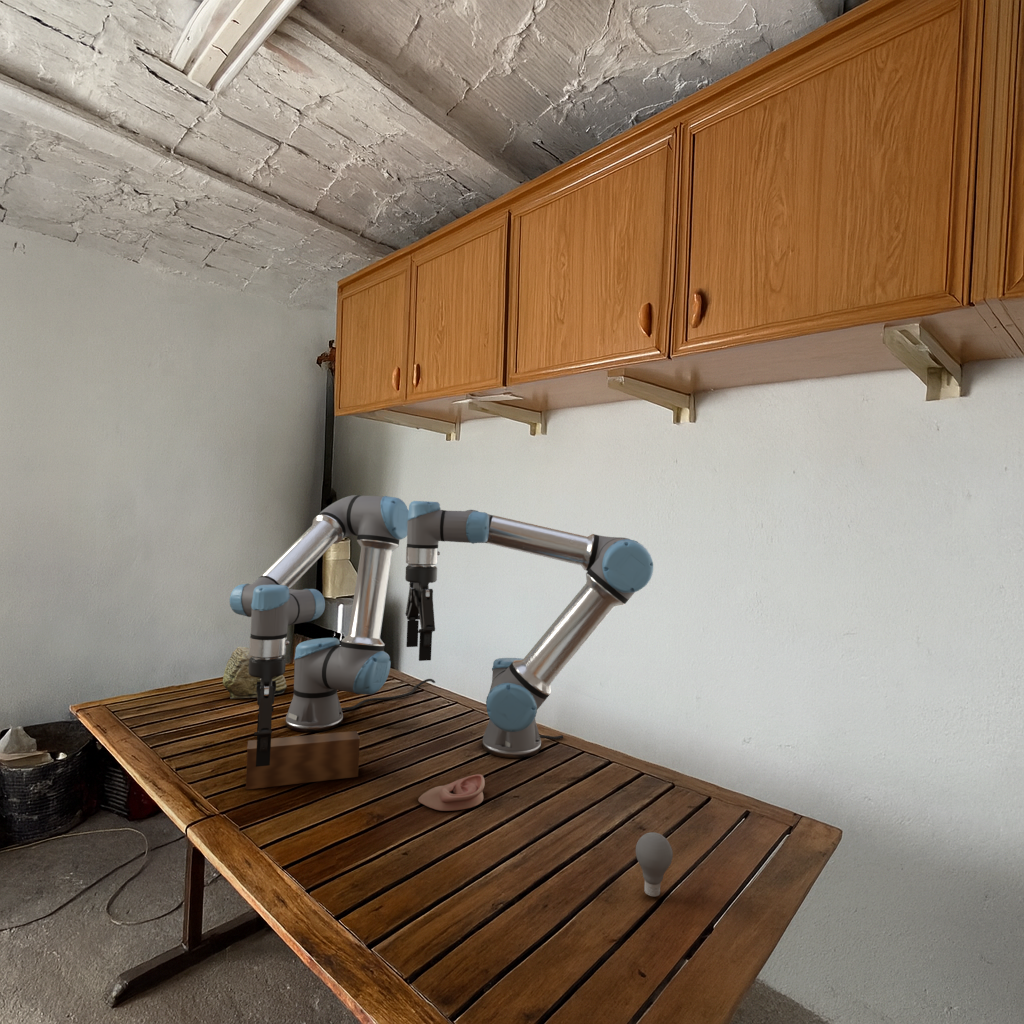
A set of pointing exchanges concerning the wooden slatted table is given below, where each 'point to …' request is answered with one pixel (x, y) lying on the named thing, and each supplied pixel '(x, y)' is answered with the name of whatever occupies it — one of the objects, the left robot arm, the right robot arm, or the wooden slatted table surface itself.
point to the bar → (305, 760)
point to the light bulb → (653, 860)
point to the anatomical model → (455, 794)
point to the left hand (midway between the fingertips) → (262, 753)
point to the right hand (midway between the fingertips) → (418, 653)
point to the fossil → (245, 676)
